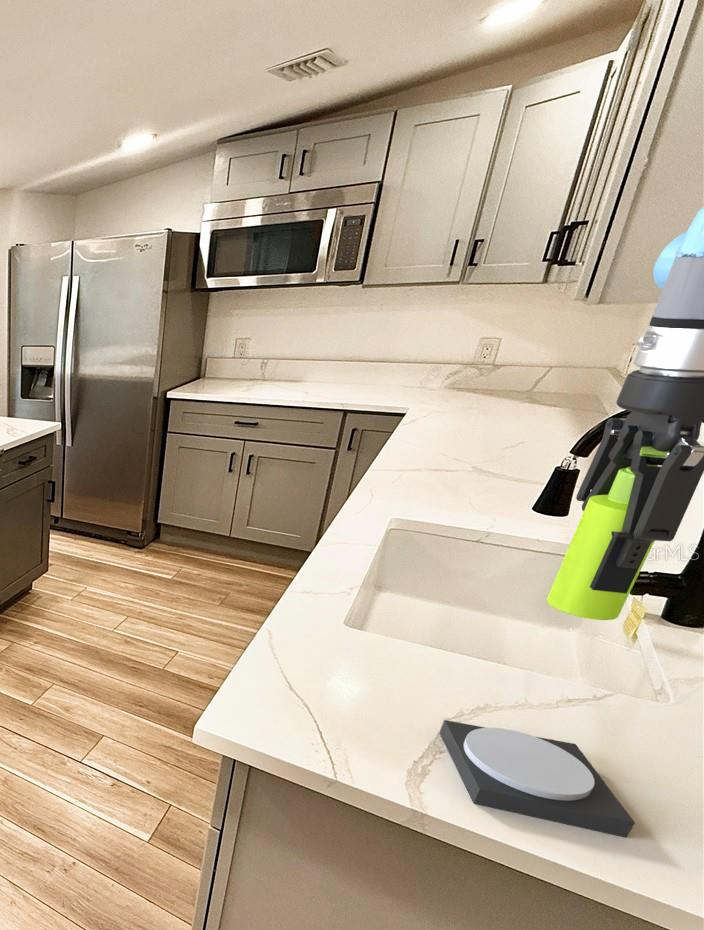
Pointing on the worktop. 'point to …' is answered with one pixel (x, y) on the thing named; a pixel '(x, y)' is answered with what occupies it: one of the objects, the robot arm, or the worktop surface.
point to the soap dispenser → (596, 552)
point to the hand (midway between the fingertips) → (592, 577)
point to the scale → (533, 777)
